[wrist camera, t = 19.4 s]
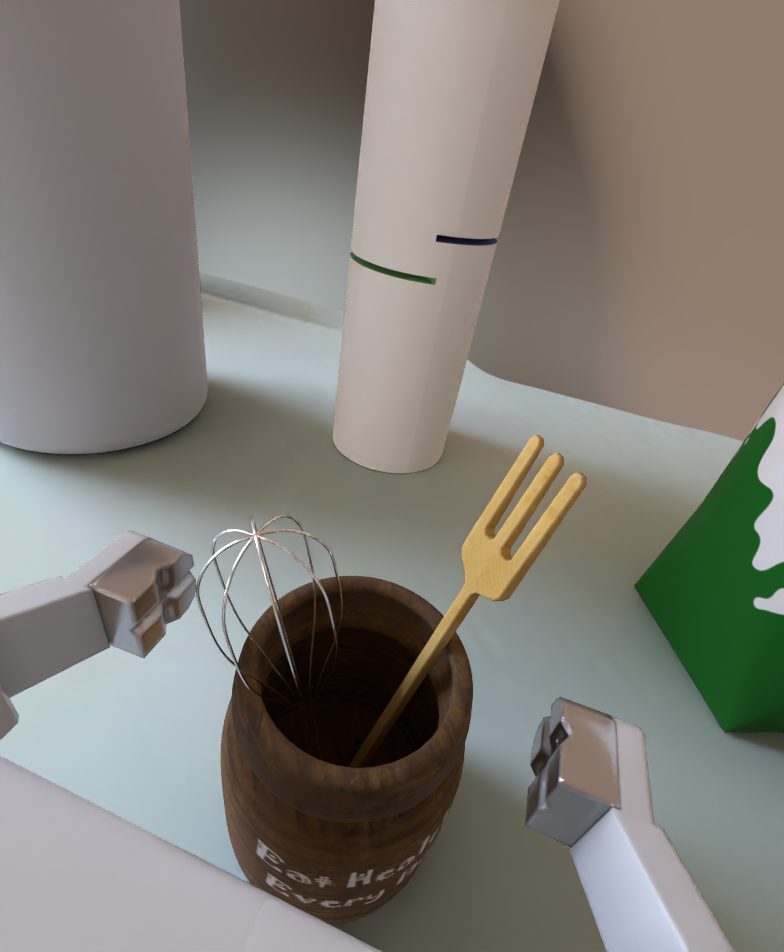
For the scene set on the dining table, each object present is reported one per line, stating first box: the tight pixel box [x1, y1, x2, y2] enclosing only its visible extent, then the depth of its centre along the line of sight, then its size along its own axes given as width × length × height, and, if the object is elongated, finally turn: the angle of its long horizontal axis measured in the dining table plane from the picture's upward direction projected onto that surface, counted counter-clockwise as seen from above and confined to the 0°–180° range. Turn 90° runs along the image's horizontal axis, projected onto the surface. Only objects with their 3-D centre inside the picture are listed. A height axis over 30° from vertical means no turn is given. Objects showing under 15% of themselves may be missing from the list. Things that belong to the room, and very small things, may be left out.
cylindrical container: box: [333, 0, 559, 473], centre depth 24 cm, size 7×7×25 cm
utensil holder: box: [196, 435, 586, 924], centre depth 11 cm, size 6×6×12 cm
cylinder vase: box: [0, 0, 208, 454], centre depth 22 cm, size 12×12×25 cm
